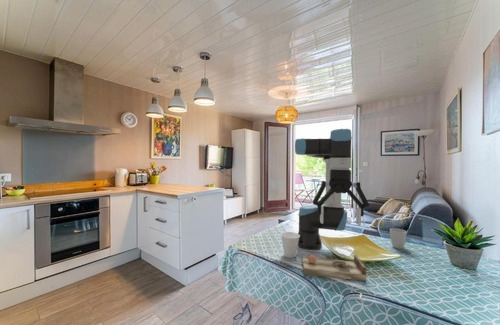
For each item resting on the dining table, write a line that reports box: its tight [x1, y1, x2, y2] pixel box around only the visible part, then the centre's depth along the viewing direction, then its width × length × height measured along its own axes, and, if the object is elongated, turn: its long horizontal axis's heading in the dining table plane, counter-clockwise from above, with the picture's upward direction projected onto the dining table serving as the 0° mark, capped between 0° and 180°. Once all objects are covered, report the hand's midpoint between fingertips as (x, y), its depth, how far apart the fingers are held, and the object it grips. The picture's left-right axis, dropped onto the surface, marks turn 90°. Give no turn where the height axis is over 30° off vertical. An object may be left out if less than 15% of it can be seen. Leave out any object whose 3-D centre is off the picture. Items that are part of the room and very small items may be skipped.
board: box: [301, 254, 367, 282], centre depth 94 cm, size 12×25×6 cm, turn 79°
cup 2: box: [389, 227, 407, 250], centre depth 123 cm, size 8×8×10 cm
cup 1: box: [280, 231, 300, 259], centre depth 109 cm, size 10×10×11 cm
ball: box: [307, 254, 317, 264], centre depth 96 cm, size 4×4×4 cm
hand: (339, 223), depth 80 cm, fingers open, 13 cm apart
